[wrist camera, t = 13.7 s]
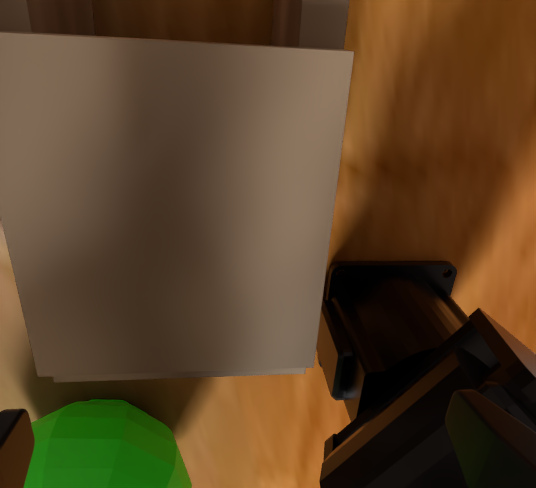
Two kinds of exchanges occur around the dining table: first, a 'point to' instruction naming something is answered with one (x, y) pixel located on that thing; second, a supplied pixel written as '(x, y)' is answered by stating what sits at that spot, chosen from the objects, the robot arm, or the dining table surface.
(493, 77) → the dining table surface
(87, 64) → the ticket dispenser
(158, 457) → the plastic bottle
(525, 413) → the robot arm
